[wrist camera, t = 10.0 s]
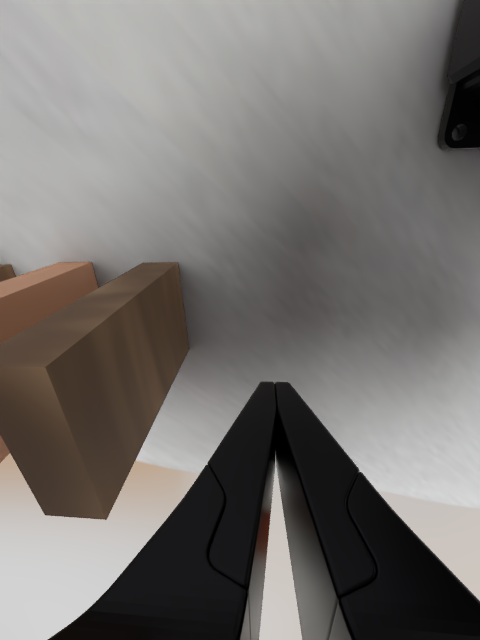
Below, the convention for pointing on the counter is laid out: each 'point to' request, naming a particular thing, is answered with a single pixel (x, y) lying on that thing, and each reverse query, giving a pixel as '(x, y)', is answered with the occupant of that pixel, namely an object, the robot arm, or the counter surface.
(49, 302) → the domino
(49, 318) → the domino
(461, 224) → the counter surface
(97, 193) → the counter surface
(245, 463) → the robot arm
